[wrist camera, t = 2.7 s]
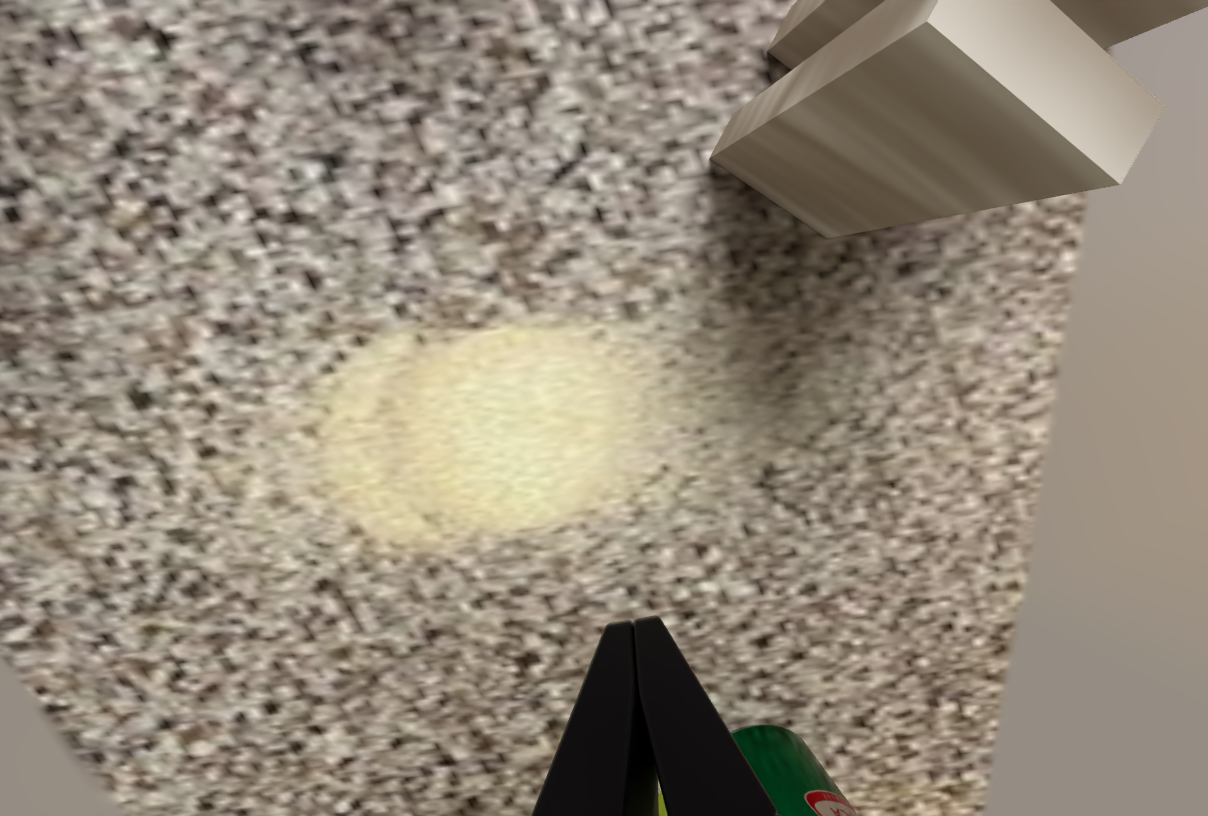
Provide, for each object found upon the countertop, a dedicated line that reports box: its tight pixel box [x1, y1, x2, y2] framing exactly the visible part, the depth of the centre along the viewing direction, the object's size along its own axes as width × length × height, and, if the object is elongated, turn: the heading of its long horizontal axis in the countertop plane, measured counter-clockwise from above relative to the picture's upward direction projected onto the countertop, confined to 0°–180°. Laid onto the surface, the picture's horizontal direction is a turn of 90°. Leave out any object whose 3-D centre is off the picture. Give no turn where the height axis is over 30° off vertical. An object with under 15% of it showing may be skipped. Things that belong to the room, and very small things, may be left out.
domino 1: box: [710, 0, 1166, 238], centre depth 16 cm, size 2×5×10 cm, turn 61°
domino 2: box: [767, 0, 1208, 70], centre depth 15 cm, size 2×5×10 cm, turn 61°
